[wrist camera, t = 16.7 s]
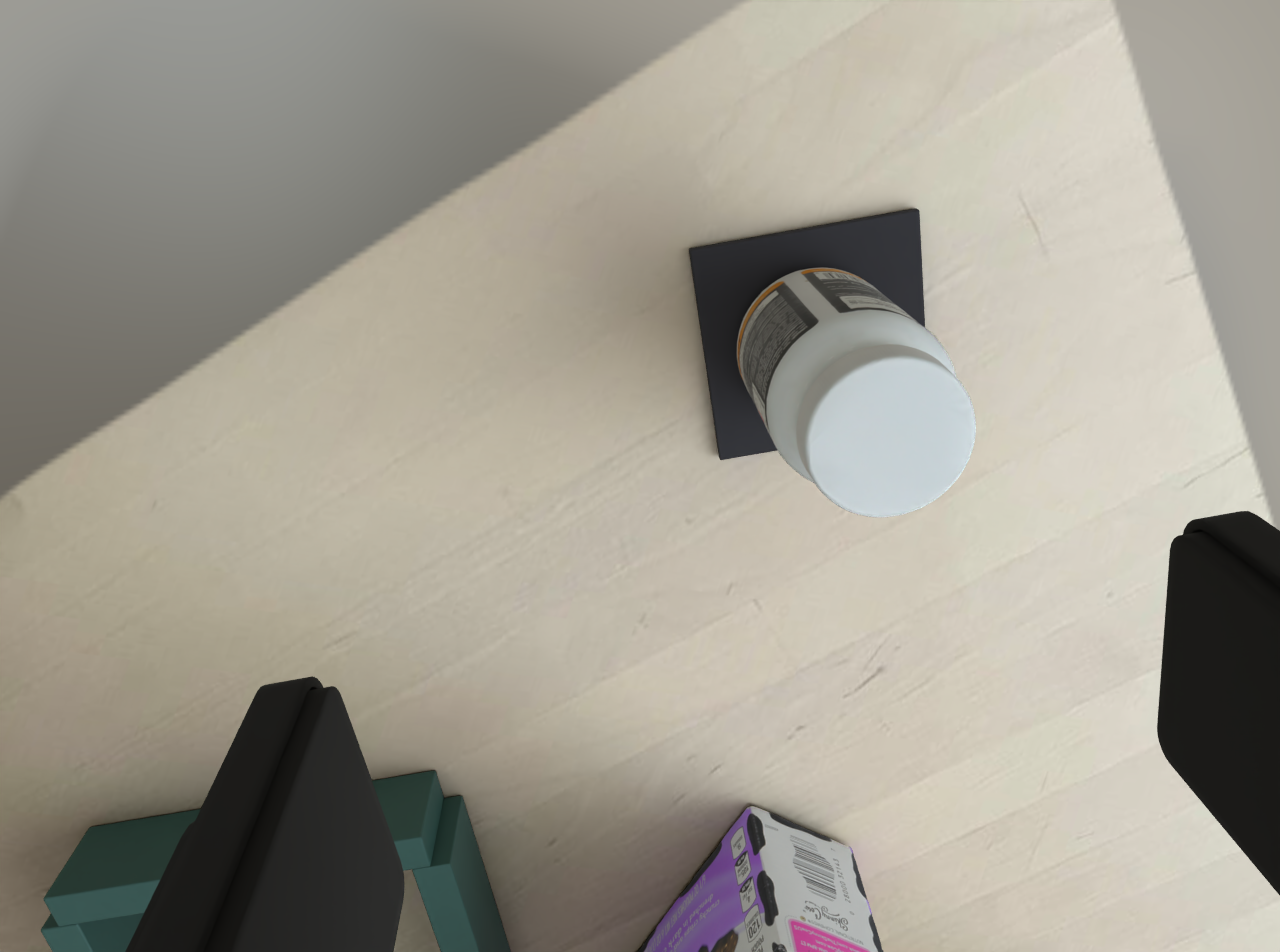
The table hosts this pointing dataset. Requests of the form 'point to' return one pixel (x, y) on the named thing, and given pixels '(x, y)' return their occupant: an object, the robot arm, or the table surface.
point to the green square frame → (141, 849)
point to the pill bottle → (855, 392)
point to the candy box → (771, 895)
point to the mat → (750, 265)
